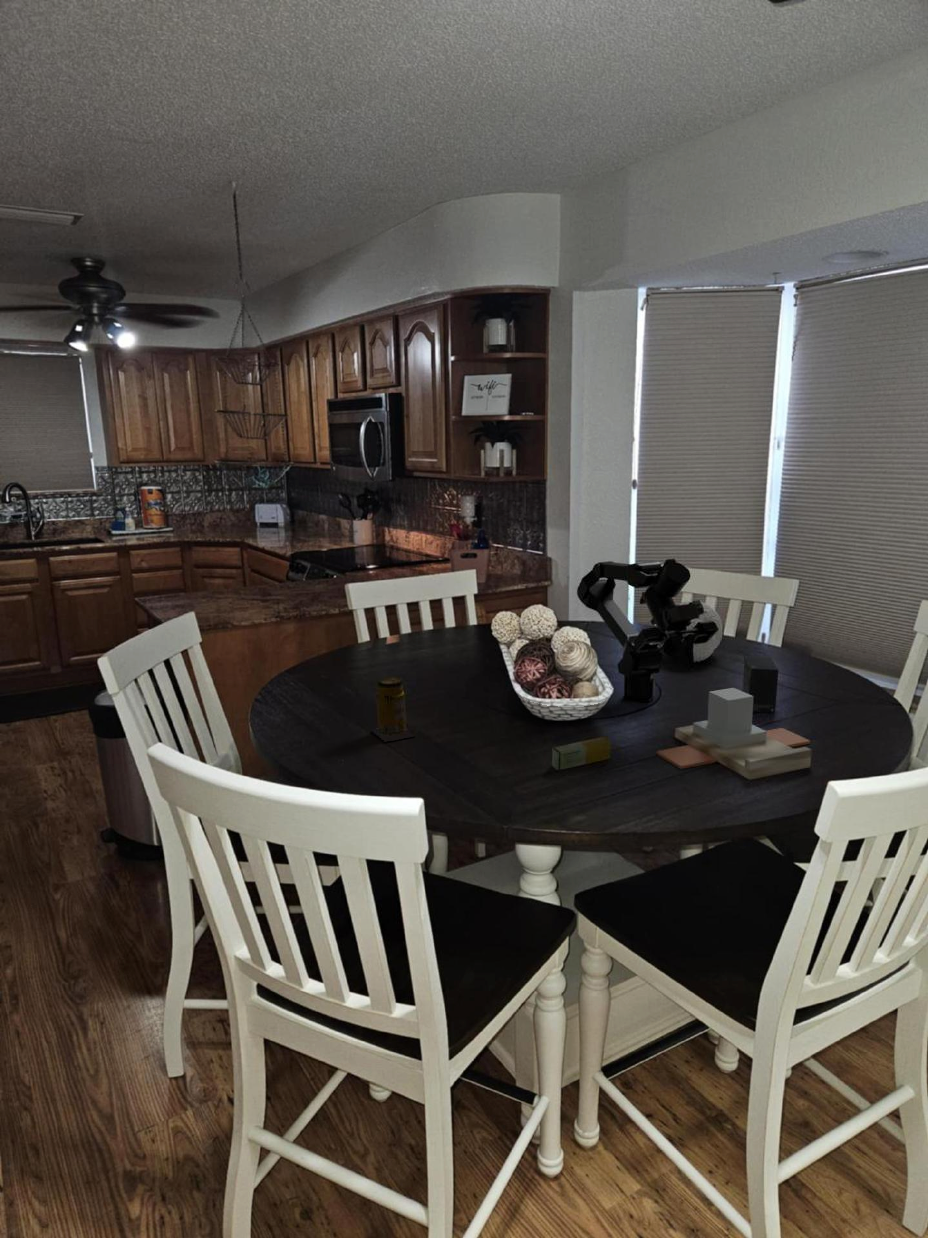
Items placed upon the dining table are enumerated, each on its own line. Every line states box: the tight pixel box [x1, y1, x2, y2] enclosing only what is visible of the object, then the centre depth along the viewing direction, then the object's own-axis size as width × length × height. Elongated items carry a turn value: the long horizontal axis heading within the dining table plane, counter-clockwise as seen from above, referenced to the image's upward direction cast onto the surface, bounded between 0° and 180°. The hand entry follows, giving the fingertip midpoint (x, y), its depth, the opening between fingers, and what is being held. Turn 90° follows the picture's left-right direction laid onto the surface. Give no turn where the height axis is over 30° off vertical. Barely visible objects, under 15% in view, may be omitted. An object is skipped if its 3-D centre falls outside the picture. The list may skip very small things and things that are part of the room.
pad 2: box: [766, 727, 811, 748], centre depth 162 cm, size 8×8×1 cm
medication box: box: [551, 736, 612, 771], centre depth 153 cm, size 12×3×4 cm, turn 114°
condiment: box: [376, 677, 407, 735], centre depth 170 cm, size 7×8×12 cm
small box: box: [741, 655, 779, 714], centre depth 182 cm, size 11×6×10 cm, turn 168°
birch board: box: [674, 724, 812, 781], centre depth 157 cm, size 23×14×4 cm, turn 20°
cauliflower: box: [678, 600, 724, 663], centre depth 222 cm, size 20×18×16 cm
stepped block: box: [692, 687, 767, 749], centre depth 159 cm, size 10×10×9 cm
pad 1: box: [656, 744, 717, 770], centre depth 155 cm, size 8×8×1 cm
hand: (691, 669), depth 169 cm, fingers closed
